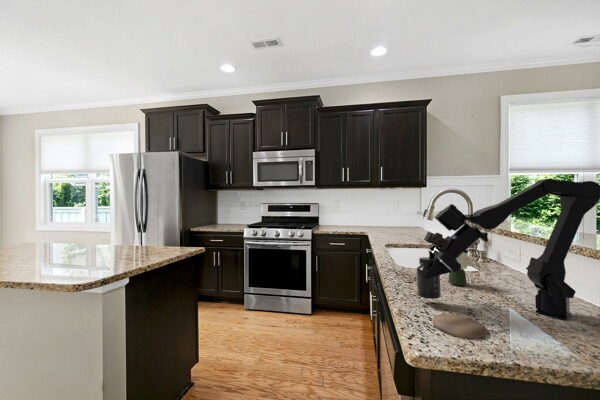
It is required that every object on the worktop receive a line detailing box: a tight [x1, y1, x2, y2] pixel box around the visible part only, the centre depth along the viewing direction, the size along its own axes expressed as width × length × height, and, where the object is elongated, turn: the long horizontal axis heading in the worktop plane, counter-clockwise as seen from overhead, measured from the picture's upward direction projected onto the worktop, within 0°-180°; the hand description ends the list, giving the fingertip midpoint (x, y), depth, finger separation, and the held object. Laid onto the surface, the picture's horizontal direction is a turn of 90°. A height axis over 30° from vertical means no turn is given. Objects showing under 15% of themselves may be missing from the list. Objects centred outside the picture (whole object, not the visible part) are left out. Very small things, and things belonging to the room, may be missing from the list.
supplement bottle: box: [416, 256, 442, 300], centre depth 87 cm, size 7×7×12 cm
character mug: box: [447, 252, 474, 286], centre depth 107 cm, size 11×7×13 cm, turn 42°
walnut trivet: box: [432, 313, 487, 339], centre depth 71 cm, size 12×12×1 cm
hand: (423, 274), depth 88 cm, fingers closed on supplement bottle, 7 cm apart
